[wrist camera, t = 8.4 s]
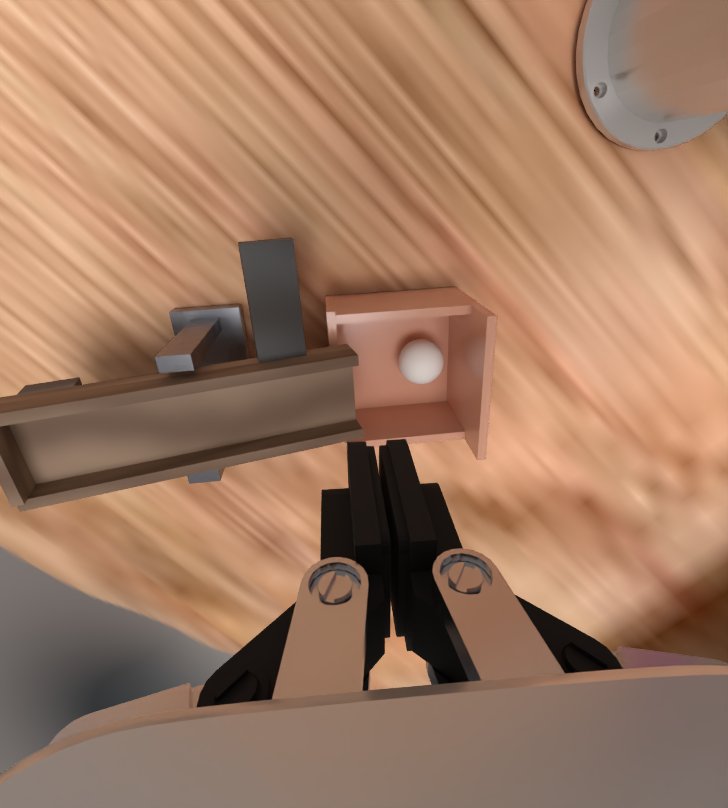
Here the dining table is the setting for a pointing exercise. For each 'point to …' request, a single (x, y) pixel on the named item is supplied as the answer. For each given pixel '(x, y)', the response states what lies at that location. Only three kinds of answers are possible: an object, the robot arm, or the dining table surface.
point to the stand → (204, 347)
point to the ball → (421, 361)
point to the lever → (185, 406)
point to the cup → (398, 397)
